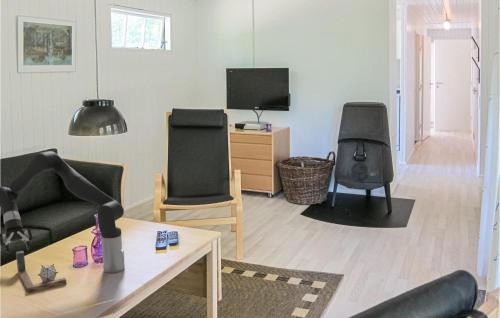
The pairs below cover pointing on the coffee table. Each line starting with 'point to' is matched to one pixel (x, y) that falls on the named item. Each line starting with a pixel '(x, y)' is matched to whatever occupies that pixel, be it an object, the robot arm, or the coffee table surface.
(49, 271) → the grey spiky ball
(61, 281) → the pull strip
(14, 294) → the coffee table surface
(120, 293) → the coffee table surface
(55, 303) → the coffee table surface
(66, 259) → the coffee table surface
